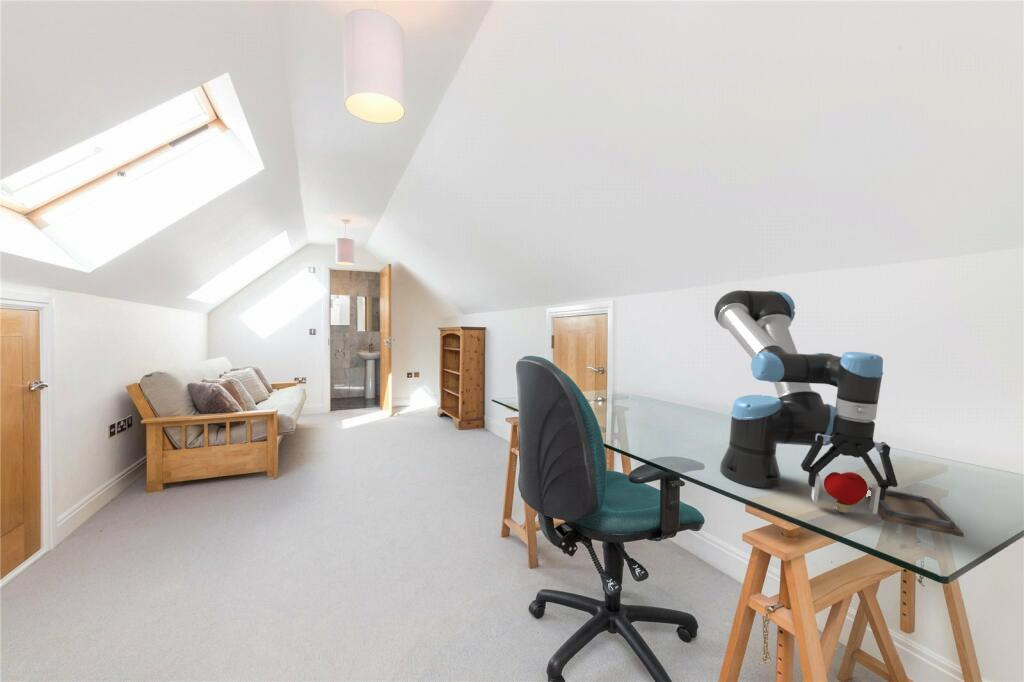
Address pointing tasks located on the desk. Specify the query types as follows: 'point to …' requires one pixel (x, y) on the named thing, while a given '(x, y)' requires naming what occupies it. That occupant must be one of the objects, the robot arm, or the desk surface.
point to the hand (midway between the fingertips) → (842, 505)
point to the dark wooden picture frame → (915, 512)
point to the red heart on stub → (845, 489)
